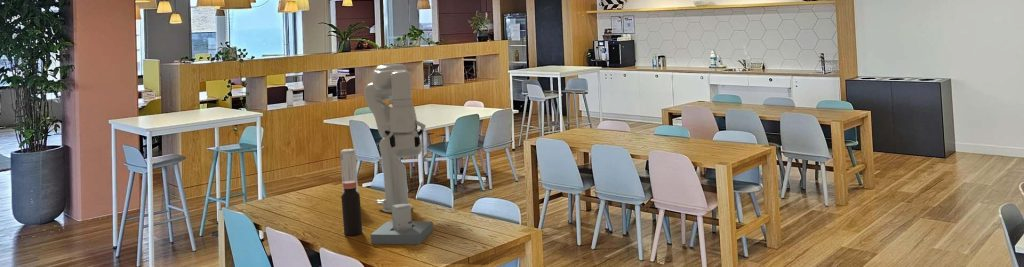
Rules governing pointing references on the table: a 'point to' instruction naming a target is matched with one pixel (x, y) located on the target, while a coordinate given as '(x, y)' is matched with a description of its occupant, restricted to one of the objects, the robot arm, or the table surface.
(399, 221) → the skincare box
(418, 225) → the socket block
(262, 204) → the table surface
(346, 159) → the air filter
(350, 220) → the bottle
